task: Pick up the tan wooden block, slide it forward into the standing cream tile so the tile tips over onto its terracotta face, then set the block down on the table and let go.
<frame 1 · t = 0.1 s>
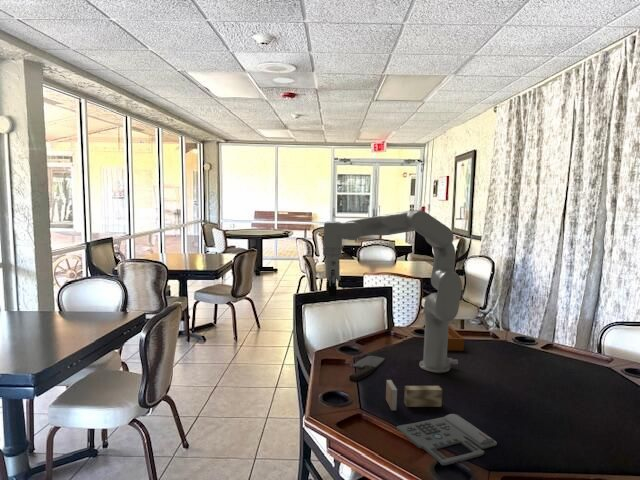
hand: (331, 293, 170), 31 cm above the table, tool pointing down, fingers open, 9 cm apart
tile: (390, 404, 141), on the table
office telephone: (448, 440, 121), on the table
cleaver: (364, 369, 173), on the table
brick: (443, 343, 211), on the table
tan wooden block: (422, 404, 142), on the table
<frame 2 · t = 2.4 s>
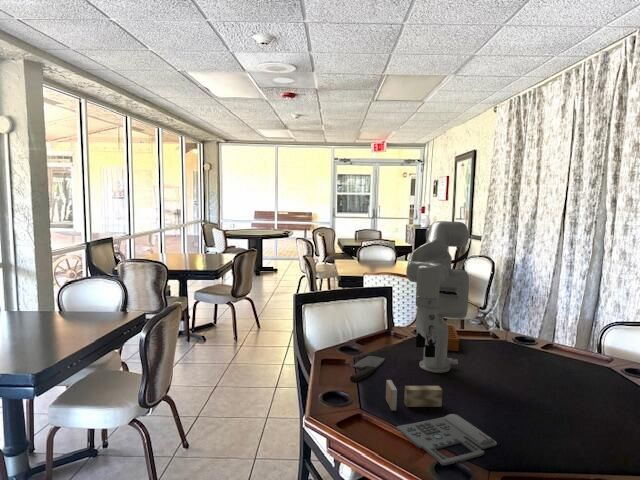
hand: (424, 351, 140), 18 cm above the table, tool pointing down, fingers open, 9 cm apart
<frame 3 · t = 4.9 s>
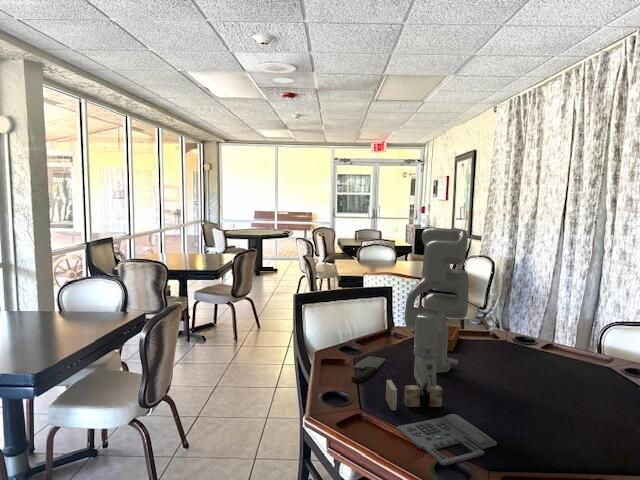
hand: (422, 402, 142), 1 cm above the table, tool pointing down, fingers closed on tan wooden block, 3 cm apart
tan wooden block: (422, 404, 142), on the table, touching gripper
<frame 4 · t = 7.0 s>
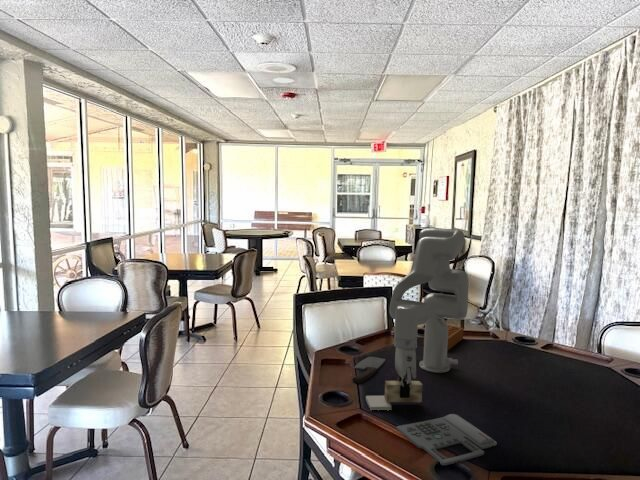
hand: (403, 394, 141), 3 cm above the table, tool pointing down, fingers closed on tan wooden block, 3 cm apart
tile: (388, 403, 141), point 1 cm above the table, tilted 90°
tan wooden block: (402, 399, 141), point 2 cm above the table, touching gripper
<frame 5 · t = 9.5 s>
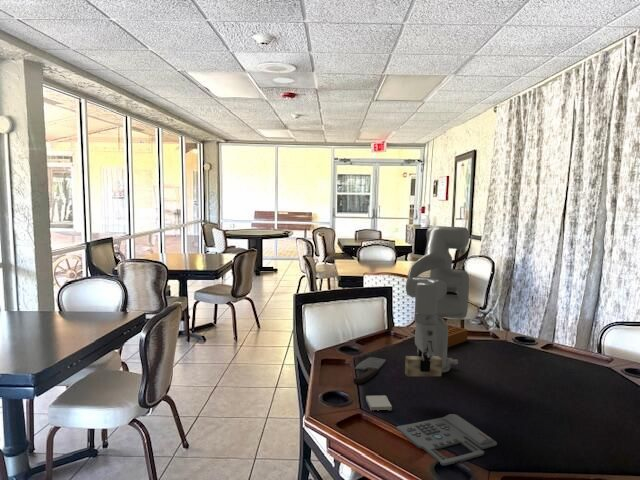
hand: (423, 368, 145), 11 cm above the table, tool pointing down, fingers closed on tan wooden block, 3 cm apart
tan wooden block: (422, 374, 145), point 9 cm above the table, touching gripper
when the fingers open (1 cm above the table, at t = 11.6 s): tan wooden block stays where it is, on the table.
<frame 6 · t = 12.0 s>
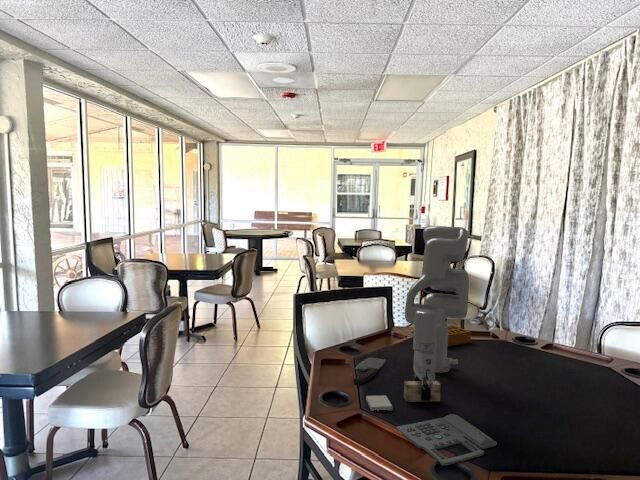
hand: (421, 394, 146), 2 cm above the table, tool pointing down, fingers open, 7 cm apart
tan wooden block: (421, 399, 146), on the table
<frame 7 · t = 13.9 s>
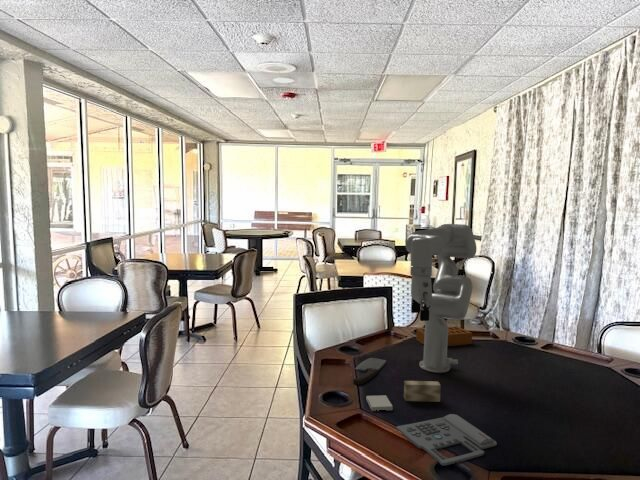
hand: (419, 316, 154), 27 cm above the table, tool pointing down, fingers open, 9 cm apart
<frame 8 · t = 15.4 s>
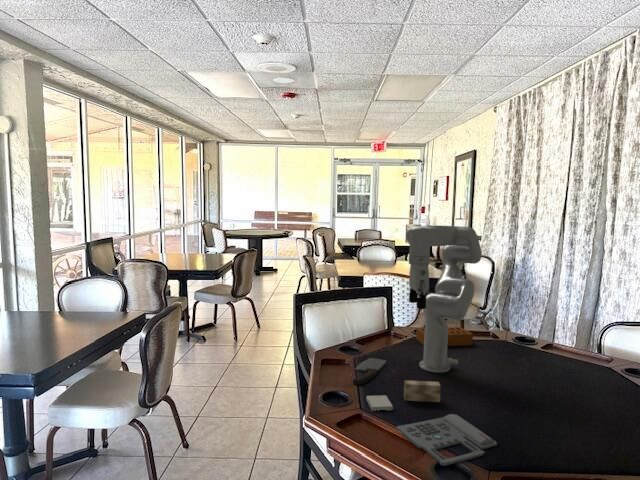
hand: (417, 305, 157), 30 cm above the table, tool pointing down, fingers open, 9 cm apart
at the end: tile tilted 90°; tile inside the target area (4.0 cm from its centre), point 0.5 cm above the table; the gripper is holding nothing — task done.
